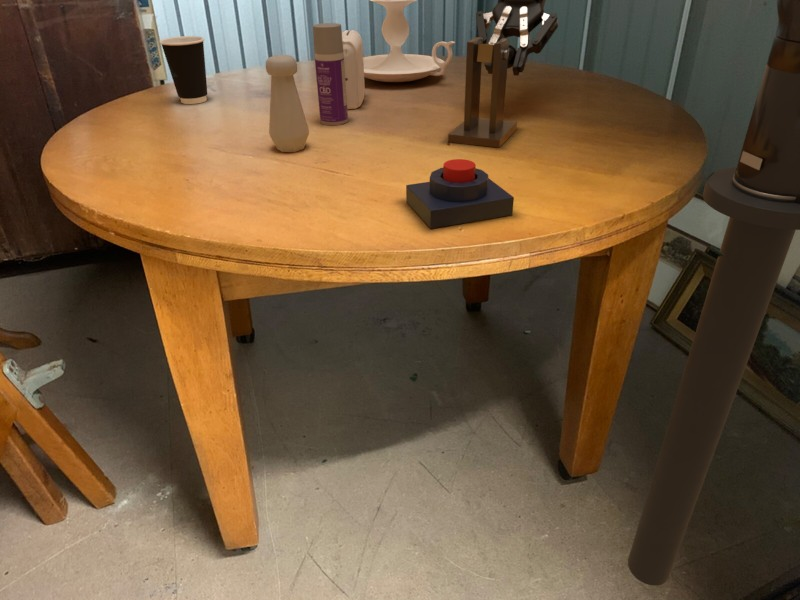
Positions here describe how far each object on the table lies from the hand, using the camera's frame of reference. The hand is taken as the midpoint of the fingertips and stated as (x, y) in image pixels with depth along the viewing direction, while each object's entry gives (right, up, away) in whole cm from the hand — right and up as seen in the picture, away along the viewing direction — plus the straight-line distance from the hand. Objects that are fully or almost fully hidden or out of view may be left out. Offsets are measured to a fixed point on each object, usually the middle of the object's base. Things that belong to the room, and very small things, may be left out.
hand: (502, 71), depth 96 cm
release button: (-10, -23, -28) cm, 38 cm away
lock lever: (-2, -1, -3) cm, 4 cm away
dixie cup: (-56, +2, +20) cm, 60 cm away
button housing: (-10, -26, -26) cm, 38 cm away
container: (-28, -7, +6) cm, 29 cm away
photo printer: (-25, 0, +16) cm, 30 cm away
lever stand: (-3, -11, -3) cm, 12 cm away
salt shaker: (-33, -14, -6) cm, 36 cm away
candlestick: (-16, +10, +31) cm, 36 cm away
